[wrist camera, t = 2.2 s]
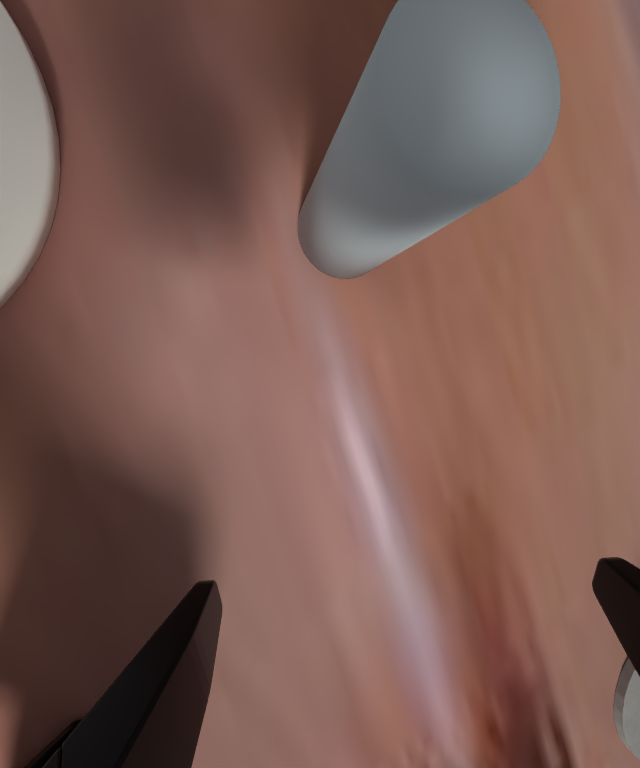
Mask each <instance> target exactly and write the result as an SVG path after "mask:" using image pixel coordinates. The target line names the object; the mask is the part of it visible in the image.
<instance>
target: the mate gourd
mask: <svg viewBox="0 0 640 768" xmlns="http://www.w3.org/2000/svg"><path fill="white" fill-rule="evenodd" d="M614 721H615V725H616V729H617V732H618V734H619V736H620V738H621V740H622V742H623V743H624V744H625V746H626V747H627V748H628V749H629V750H630V751H631V752H632V753H633V754H634V755H635V756H636V757H637V758H638V759H639V760H640V676H639V675H638V673H637V671H636V670H635V668H634V666H633V665H632V663H631V661H630V659H629V658H628V659H627V660H626V663H625V665H624V667H623V669H622V672H621V674H620V676H619V680H618V683H617V687H616V690H615V698H614Z"/></svg>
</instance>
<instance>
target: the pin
mask: <svg viewBox="0 0 640 768" xmlns="http://www.w3.org/2000/svg"><path fill="white" fill-rule="evenodd" d="M560 98H561V90H560V77H559V69H558V64H557V60H556V56H555V52H554V50H553V47H552V44H551V41H550V39H549V37H548V34H547V32H546V30H545V28H544V26H543V24H542V23H541V21H540V19H539V18H538V16H537V15H536V13H535V12H534V11H533V9H532V8H531V7H530V5H529V4H528V3H527V2H526V1H525V0H398V2H397V3H396V4H395V6H394V8H393V9H392V11H391V13H390V15H389V16H388V19H387V21H386V23H385V25H384V27H383V30H382V32H381V34H380V36H379V38H378V41H377V43H376V45H375V47H374V49H373V52H372V54H371V56H370V58H369V60H368V63H367V65H366V67H365V69H364V71H363V74H362V76H361V78H360V80H359V82H358V84H357V87H356V89H355V91H354V93H353V95H352V98H351V100H350V102H349V104H348V106H347V109H346V111H345V113H344V115H343V117H342V120H341V122H340V124H339V126H338V128H337V131H336V133H335V135H334V137H333V139H332V142H331V144H330V146H329V148H328V150H327V153H326V155H325V157H324V159H323V161H322V164H321V166H320V168H319V170H318V172H317V175H316V177H315V179H314V181H313V183H312V186H311V188H310V190H309V192H308V194H307V197H306V199H305V201H304V203H303V205H302V208H301V210H300V213H299V217H298V237H299V241H300V244H301V247H302V250H303V251H304V253H305V255H306V257H307V258H308V259H309V261H310V262H311V263H312V264H313V265H314V266H315V267H316V268H317V269H318V270H320V271H321V272H323V273H325V274H327V275H329V276H332V277H335V278H341V279H350V278H355V277H359V276H361V275H364V274H365V273H367V272H369V271H371V270H372V269H374V268H376V267H377V266H379V265H381V264H382V263H384V262H386V261H387V260H389V259H391V258H392V257H394V256H396V255H397V254H399V253H401V252H402V251H404V250H406V249H407V248H409V247H411V246H413V245H414V244H416V243H418V242H419V241H421V240H423V239H424V238H426V237H428V236H429V235H431V234H433V233H434V232H436V231H438V230H439V229H441V228H443V227H444V226H446V225H448V224H450V223H451V222H453V221H455V220H456V219H458V218H460V217H461V216H463V215H465V214H466V213H468V212H470V211H471V210H473V209H475V208H476V207H478V206H480V205H481V204H483V203H485V202H487V201H488V200H490V199H492V198H493V197H495V196H497V195H498V194H500V193H502V192H503V191H505V190H507V189H508V188H510V187H512V186H513V185H515V184H517V183H518V182H520V181H521V180H522V179H524V178H525V177H526V176H528V175H529V174H530V173H531V172H532V171H533V170H534V168H535V167H536V166H537V165H538V164H539V162H540V161H541V160H542V158H543V157H544V155H545V153H546V151H547V150H548V148H549V146H550V143H551V141H552V138H553V136H554V133H555V130H556V126H557V123H558V117H559V111H560Z"/></svg>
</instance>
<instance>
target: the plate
mask: <svg viewBox="0 0 640 768" xmlns="http://www.w3.org/2000/svg"><path fill="white" fill-rule="evenodd" d="M60 172H61V167H60V148H59V137H58V132H57V126H56V121H55V116H54V111H53V106H52V103H51V100H50V97H49V94H48V91H47V88H46V85H45V82H44V79H43V76H42V74H41V72H40V70H39V67H38V65H37V63H36V61H35V59H34V57H33V55H32V52H31V50H30V48H29V46H28V44H27V42H26V41H25V39H24V37H23V36H22V34H21V32H20V31H19V29H18V27H17V26H16V24H15V23H14V21H13V19H12V18H11V16H10V14H9V13H8V11H7V10H6V8H5V7H4V5H3V4H2V2H1V1H0V308H1V307H2V306H3V305H4V304H5V303H6V302H7V301H8V300H9V299H10V297H11V296H12V295H13V294H14V293H15V291H16V290H17V289H18V288H19V287H20V285H21V284H22V283H23V282H24V281H25V279H26V278H27V276H28V274H29V273H30V271H31V269H32V268H33V266H34V264H35V263H36V261H37V259H38V258H39V256H40V254H41V252H42V249H43V247H44V244H45V242H46V240H47V237H48V235H49V232H50V230H51V227H52V223H53V219H54V214H55V210H56V206H57V202H58V195H59V184H60Z"/></svg>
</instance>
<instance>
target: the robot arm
mask: <svg viewBox="0 0 640 768" xmlns="http://www.w3.org/2000/svg"><path fill="white" fill-rule="evenodd" d="M592 587H593V591H594V594H595V596H596V598H597V600H598V601H599V603H600V605H601V607H602V609H603V611H604V613H605V615H606V616H607V618H608V620H609V622H610V624H611V626H612V628H613V630H614V631H615V633H616V635H617V637H618V639H619V641H620V643H621V645H622V647H623V648H624V650H625V652H626V654H627V656H628V658H629V659H630V661H631V663H632V665H633V666H634V668H635V670H636V671H637V673H638V675H639V676H640V569H639V568H638V567H636V566H634V565H633V564H631V563H629V562H628V561H626V560H624V559H622V558H618V557H610V558H601V559H600V560H599V561H598V564H597V567H596V571H595V574H594V578H593V581H592ZM221 617H222V602H221V598H220V594H219V590H218V586H217V583H216V582H215V581H214V580H208V581H199V582H197V583H196V584H195V585H194V586H193V588H192V589H191V590H190V591H189V592H188V594H187V595H186V596H185V597H184V598H183V600H182V601H181V602H180V603H179V604H178V606H177V607H176V608H175V609H174V610H173V612H172V613H171V614H170V615H169V616H168V618H167V619H166V620H165V621H164V622H163V624H162V625H161V626H160V627H159V628H158V630H157V631H156V632H155V633H154V634H153V636H152V637H151V638H150V639H149V640H148V642H147V643H146V644H145V645H144V646H143V648H142V649H141V650H140V651H139V652H138V654H137V655H136V656H135V657H134V658H133V660H132V661H131V662H130V663H129V664H128V666H127V667H126V668H125V669H124V670H123V672H122V673H121V674H120V675H119V676H118V678H117V679H116V680H115V681H114V682H113V684H112V685H111V686H110V687H109V688H108V690H107V691H106V692H105V693H104V694H103V696H102V697H101V698H100V699H99V700H98V702H97V703H96V704H95V705H94V706H93V708H92V709H91V710H90V711H89V712H88V714H87V715H86V716H85V717H84V718H83V720H82V721H76V722H73V723H72V724H71V725H69V726H68V727H67V728H66V729H65V730H64V731H63V732H62V733H61V734H60V735H59V736H58V737H57V738H56V739H55V740H54V741H53V742H51V743H50V744H49V745H48V746H47V747H46V748H45V749H44V750H43V751H42V752H41V753H40V754H39V755H38V756H37V757H36V758H34V759H33V760H32V761H31V762H30V763H29V764H28V765H27V766H26V767H25V768H191V766H192V762H193V758H194V754H195V750H196V746H197V742H198V738H199V734H200V730H201V726H202V722H203V718H204V714H205V710H206V706H207V702H208V697H209V693H210V688H211V682H212V677H213V670H214V663H215V657H216V650H217V644H218V637H219V630H220V624H221Z"/></svg>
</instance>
